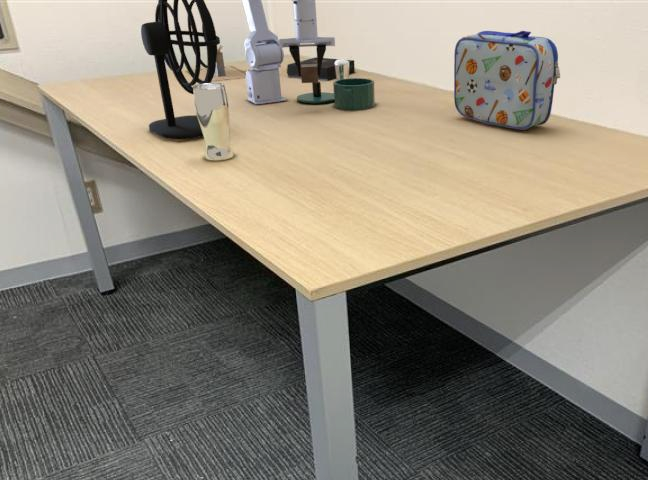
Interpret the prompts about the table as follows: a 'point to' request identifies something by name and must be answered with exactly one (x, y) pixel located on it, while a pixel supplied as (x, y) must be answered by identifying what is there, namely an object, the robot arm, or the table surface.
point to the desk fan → (162, 49)
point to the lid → (316, 95)
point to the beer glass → (213, 119)
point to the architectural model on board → (221, 70)
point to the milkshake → (342, 69)
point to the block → (309, 73)
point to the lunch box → (505, 78)
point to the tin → (354, 93)
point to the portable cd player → (326, 68)
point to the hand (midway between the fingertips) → (309, 75)
